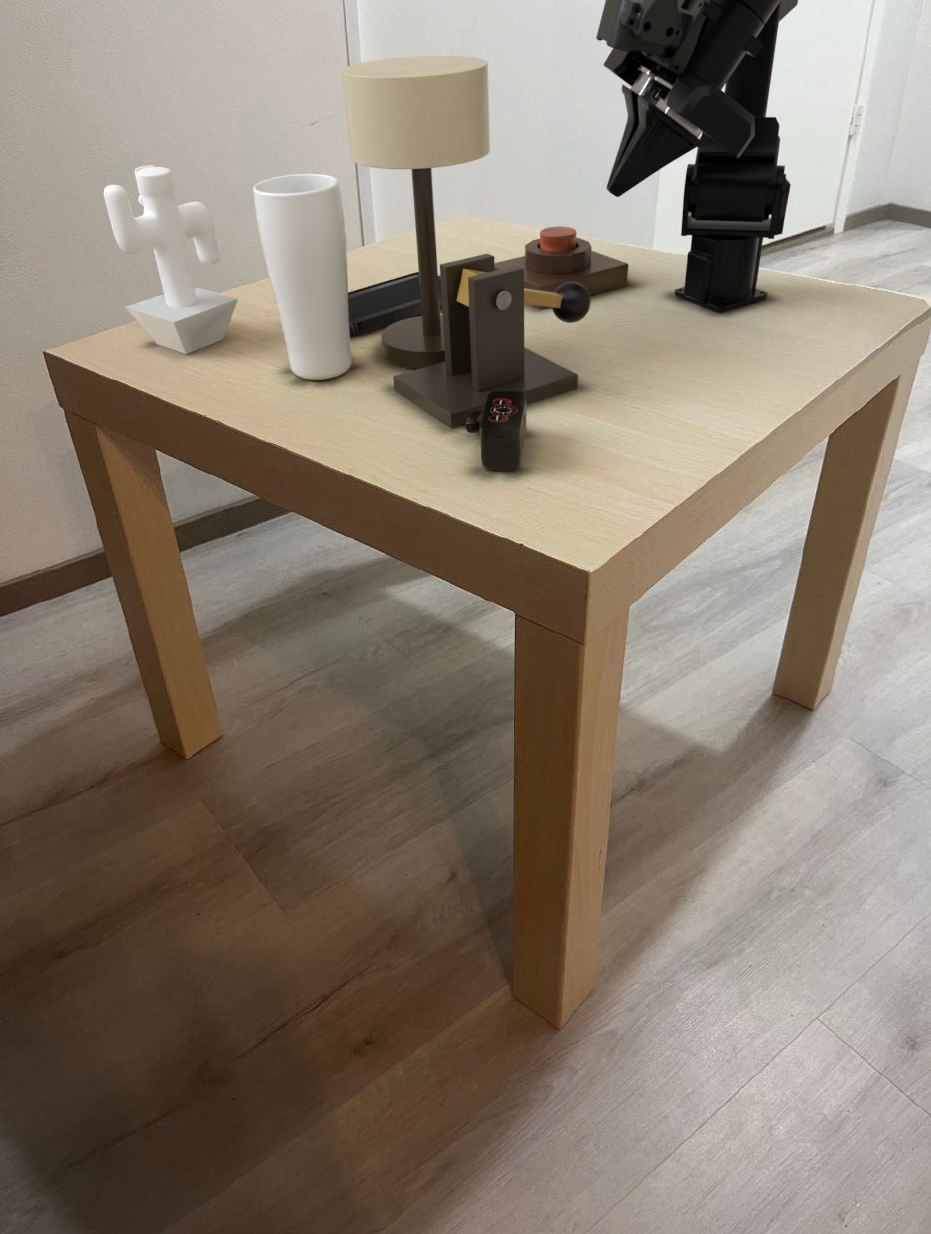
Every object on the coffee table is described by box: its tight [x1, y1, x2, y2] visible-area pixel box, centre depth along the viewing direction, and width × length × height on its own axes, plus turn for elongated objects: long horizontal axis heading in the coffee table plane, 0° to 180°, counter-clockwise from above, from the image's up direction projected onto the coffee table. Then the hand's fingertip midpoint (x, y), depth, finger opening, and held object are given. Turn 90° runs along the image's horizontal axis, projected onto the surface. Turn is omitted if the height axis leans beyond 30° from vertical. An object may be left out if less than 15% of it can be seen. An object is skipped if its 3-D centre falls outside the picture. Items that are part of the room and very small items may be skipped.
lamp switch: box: [392, 253, 579, 429], centre depth 73 cm, size 12×9×10 cm
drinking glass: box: [252, 173, 353, 381], centre depth 76 cm, size 7×7×15 cm
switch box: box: [494, 237, 629, 310], centre depth 95 cm, size 11×9×4 cm
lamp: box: [341, 55, 491, 370], centre depth 77 cm, size 11×11×22 cm
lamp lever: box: [457, 269, 592, 324], centre depth 74 cm, size 12×3×3 cm, turn 122°
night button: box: [539, 226, 578, 252], centre depth 93 cm, size 4×4×2 cm
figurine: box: [103, 164, 239, 355], centre depth 83 cm, size 7×9×15 cm
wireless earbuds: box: [464, 391, 528, 471], centre depth 67 cm, size 5×7×3 cm, turn 173°
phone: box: [348, 271, 442, 337], centre depth 92 cm, size 8×1×15 cm
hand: (611, 193), depth 78 cm, fingers closed
